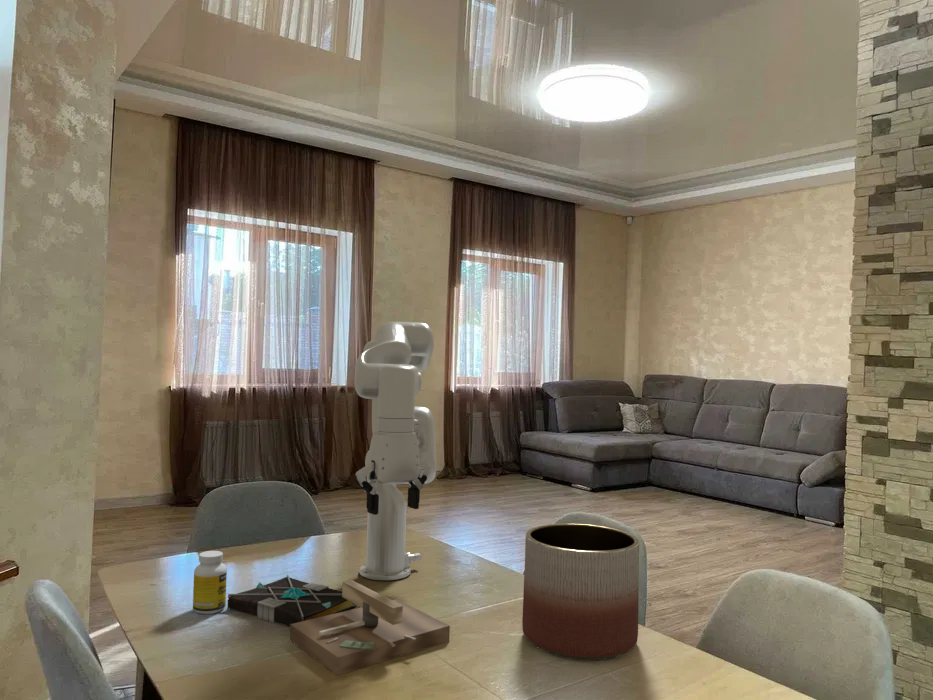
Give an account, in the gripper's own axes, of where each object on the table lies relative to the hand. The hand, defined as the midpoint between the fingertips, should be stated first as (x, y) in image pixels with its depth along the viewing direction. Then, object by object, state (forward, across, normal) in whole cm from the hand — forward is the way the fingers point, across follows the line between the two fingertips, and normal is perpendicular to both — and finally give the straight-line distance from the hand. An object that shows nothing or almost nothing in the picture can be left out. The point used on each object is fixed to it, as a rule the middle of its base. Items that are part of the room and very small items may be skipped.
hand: (393, 510), depth 145 cm
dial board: (+22, +8, +6) cm, 25 cm away
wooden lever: (+19, +13, +6) cm, 24 cm away
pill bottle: (+23, +27, -27) cm, 45 cm away
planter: (+23, -25, +28) cm, 44 cm away
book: (+23, +13, -18) cm, 32 cm away
